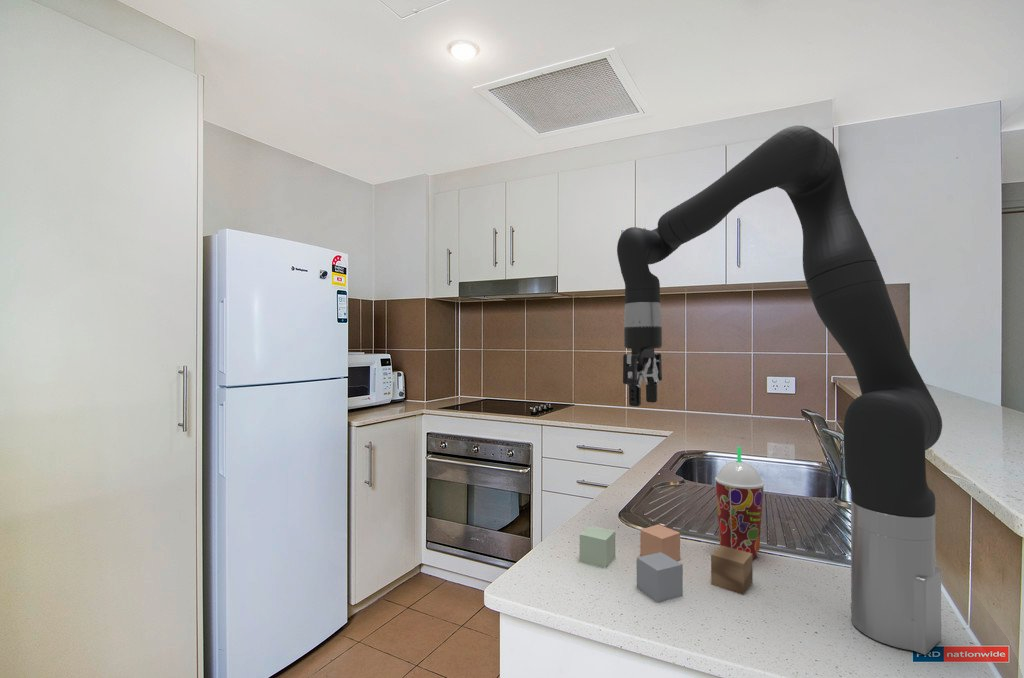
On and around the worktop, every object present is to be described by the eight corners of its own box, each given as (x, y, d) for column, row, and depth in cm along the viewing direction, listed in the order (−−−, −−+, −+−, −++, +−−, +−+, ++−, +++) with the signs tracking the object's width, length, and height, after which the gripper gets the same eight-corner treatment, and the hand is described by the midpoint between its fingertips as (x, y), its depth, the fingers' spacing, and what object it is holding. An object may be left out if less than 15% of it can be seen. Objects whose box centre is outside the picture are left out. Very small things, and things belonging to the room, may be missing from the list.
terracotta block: (680, 560, 90) (680, 532, 90) (662, 567, 88) (662, 538, 88) (658, 550, 94) (658, 524, 94) (640, 556, 92) (640, 529, 92)
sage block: (615, 557, 91) (615, 530, 91) (605, 568, 87) (605, 540, 87) (589, 551, 94) (590, 525, 94) (579, 561, 90) (579, 534, 90)
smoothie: (758, 567, 87) (758, 454, 87) (709, 554, 92) (709, 447, 92) (767, 551, 94) (768, 446, 94) (721, 540, 99) (721, 440, 99)
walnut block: (752, 583, 82) (752, 553, 82) (743, 595, 78) (743, 563, 78) (721, 574, 85) (721, 545, 85) (711, 585, 81) (711, 554, 81)
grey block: (682, 596, 78) (682, 564, 78) (657, 603, 75) (657, 570, 75) (660, 582, 82) (660, 552, 82) (636, 588, 80) (636, 557, 80)
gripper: (646, 323, 94) (647, 408, 94) (672, 326, 105) (674, 402, 105) (610, 325, 99) (611, 406, 98) (639, 327, 110) (640, 399, 110)
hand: (643, 404), depth 102 cm, fingers open, 8 cm apart
